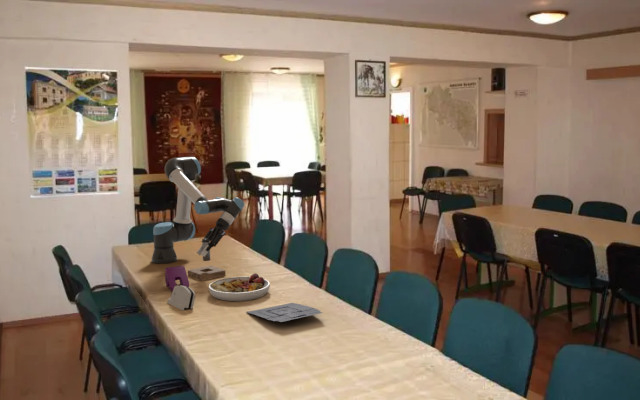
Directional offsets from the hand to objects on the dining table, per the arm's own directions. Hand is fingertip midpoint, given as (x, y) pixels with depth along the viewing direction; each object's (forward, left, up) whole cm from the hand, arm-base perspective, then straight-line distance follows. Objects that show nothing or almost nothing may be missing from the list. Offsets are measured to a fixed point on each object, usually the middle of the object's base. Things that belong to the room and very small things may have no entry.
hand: (200, 254), depth 320 cm
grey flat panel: (+84, -8, -13) cm, 86 cm away
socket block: (0, +4, -12) cm, 13 cm away
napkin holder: (+38, -33, -13) cm, 52 cm away
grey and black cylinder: (0, +4, -4) cm, 5 cm away
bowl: (+42, -3, -13) cm, 44 cm away
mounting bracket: (+11, -20, -13) cm, 27 cm away
